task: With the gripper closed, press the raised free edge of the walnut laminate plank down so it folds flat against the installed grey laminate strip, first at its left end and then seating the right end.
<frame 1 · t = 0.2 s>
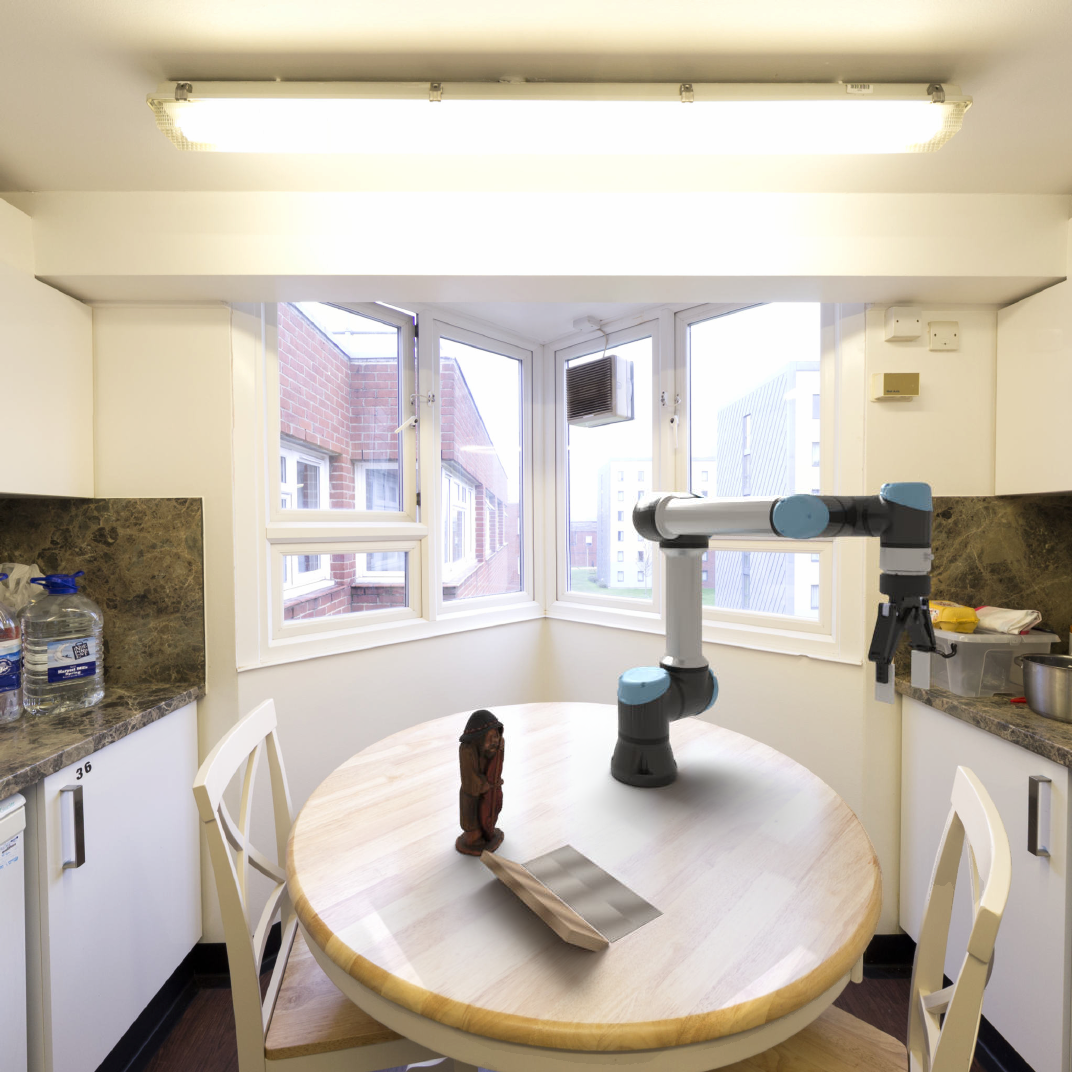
hand: (903, 694, 101), 28 cm above the table, fingers open, 13 cm apart
plank: (539, 897, 85), point 3 cm above the table, hinge at 35.0°
laid strip: (587, 896, 91), on the table
figurine: (480, 850, 104), on the table
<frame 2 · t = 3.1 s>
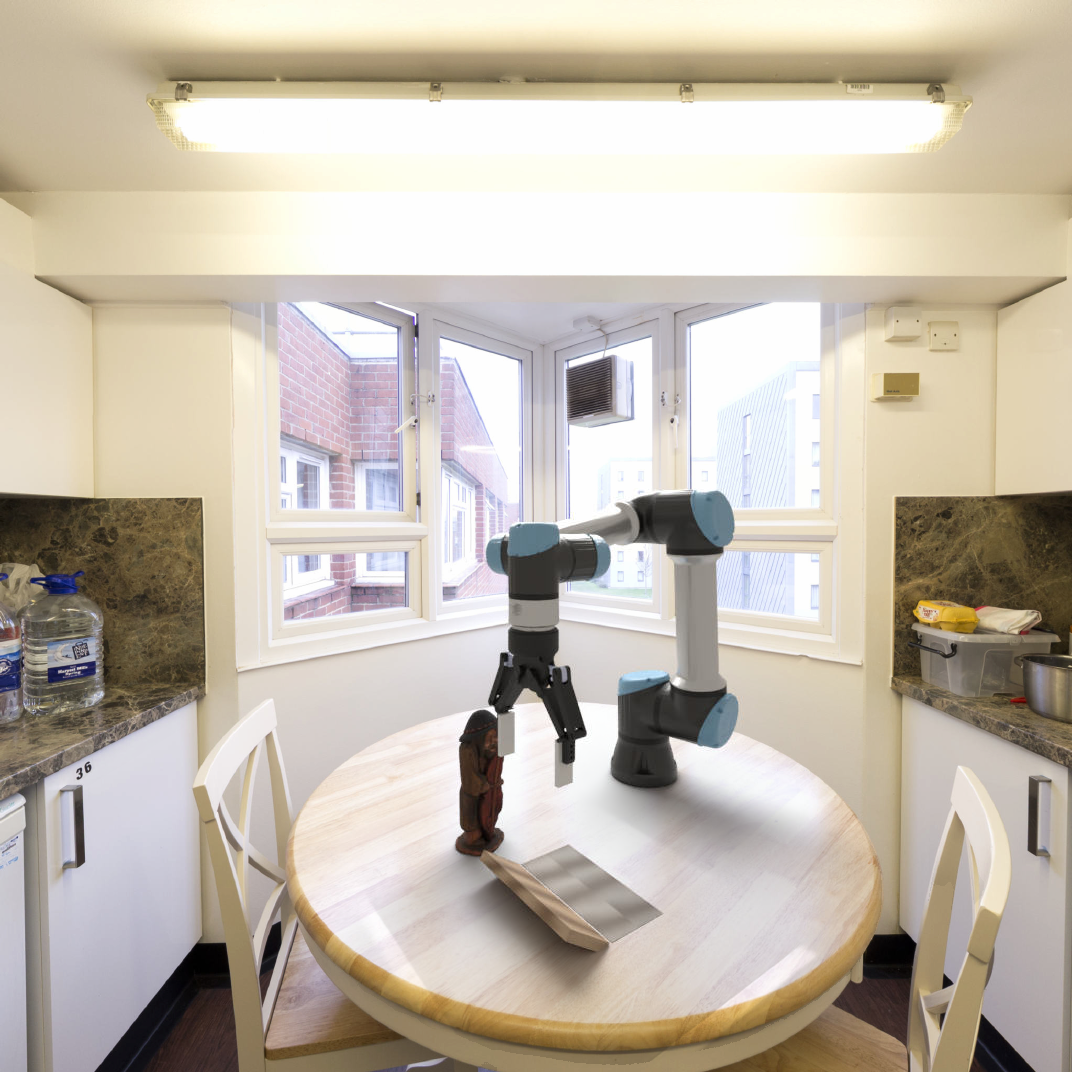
hand: (533, 768, 87), 22 cm above the table, fingers open, 13 cm apart
nothing on the table moved.
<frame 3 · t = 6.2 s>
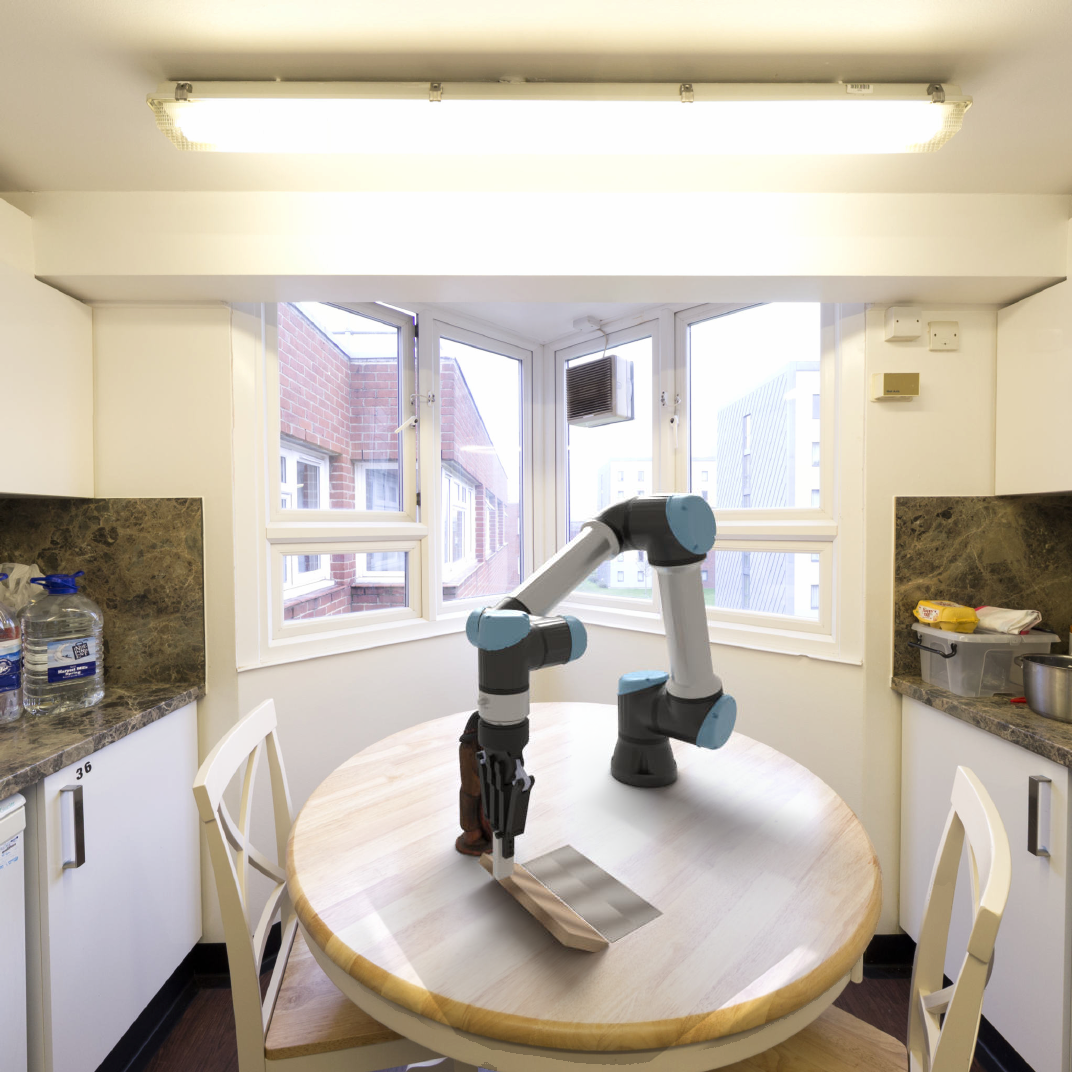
hand: (503, 874, 86), 6 cm above the table, fingers closed
plank: (538, 899, 85), point 3 cm above the table, hinge at 31.9°, touching gripper
everything else where it was.
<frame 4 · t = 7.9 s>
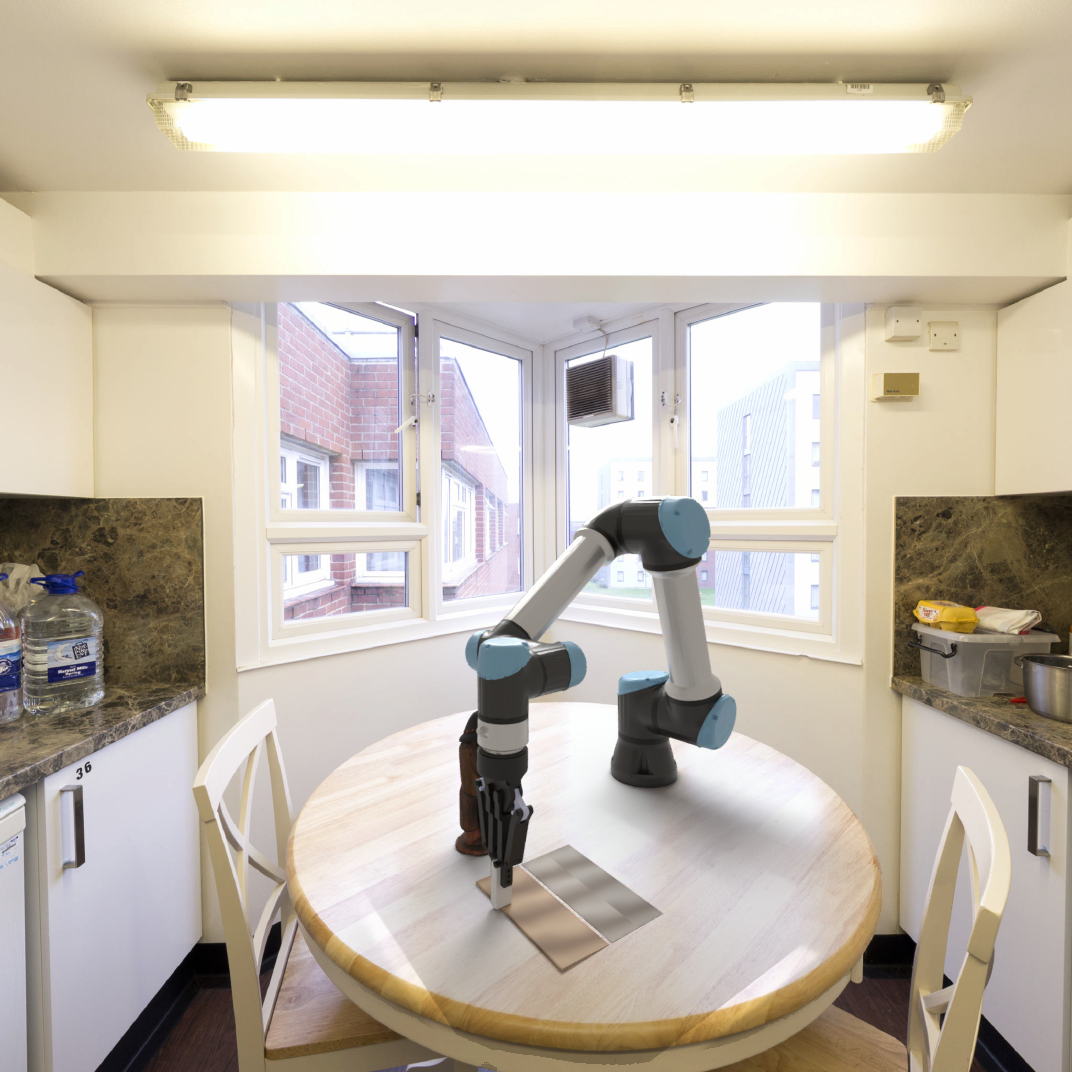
hand: (501, 903, 86), 2 cm above the table, fingers closed
plank: (537, 915, 85), point 1 cm above the table, hinge at 2.2°, touching gripper
everything else where it was.
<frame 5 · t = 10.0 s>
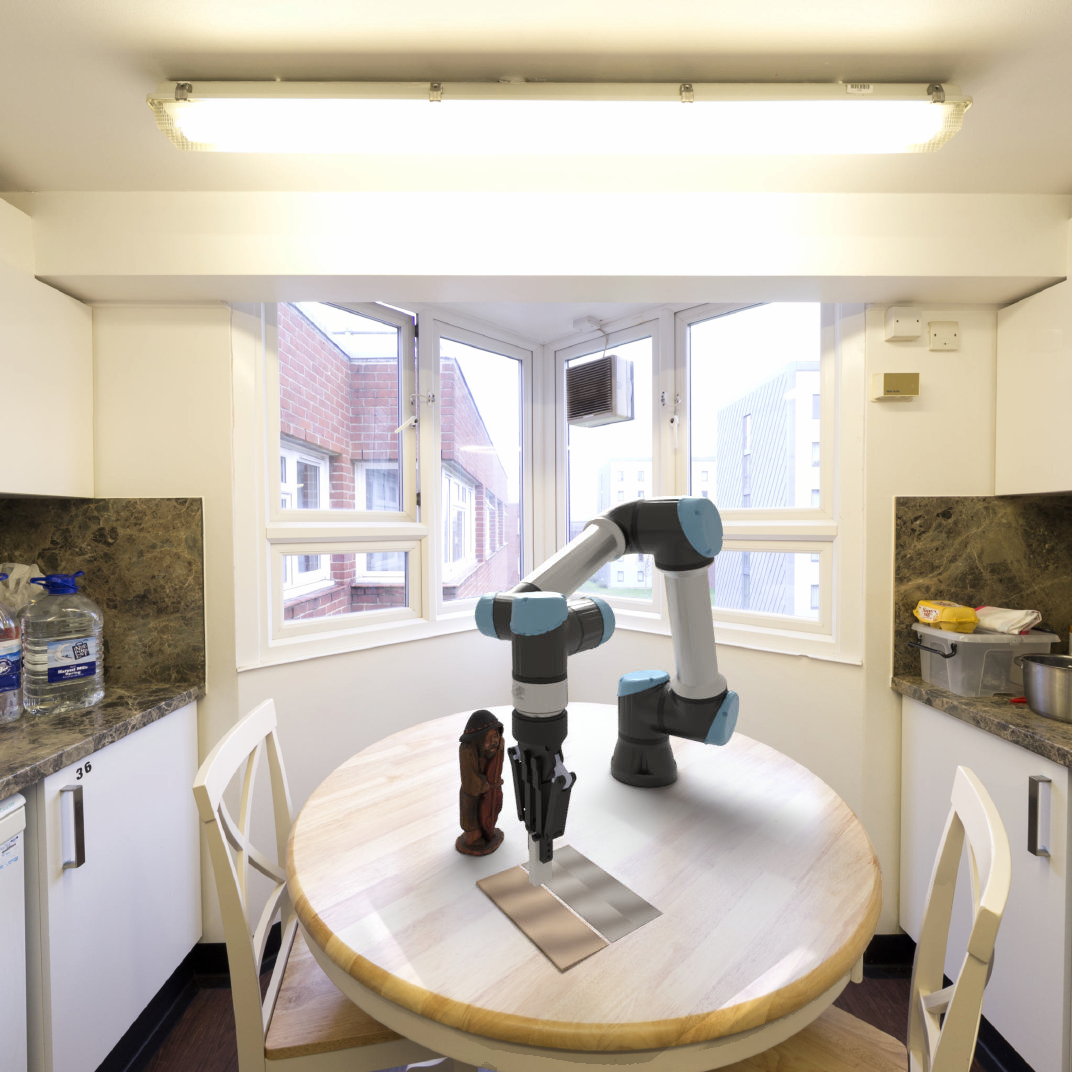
hand: (540, 880, 79), 10 cm above the table, fingers closed
plank: (537, 915, 85), point 1 cm above the table, hinge at 2.1°
everything else where it was.
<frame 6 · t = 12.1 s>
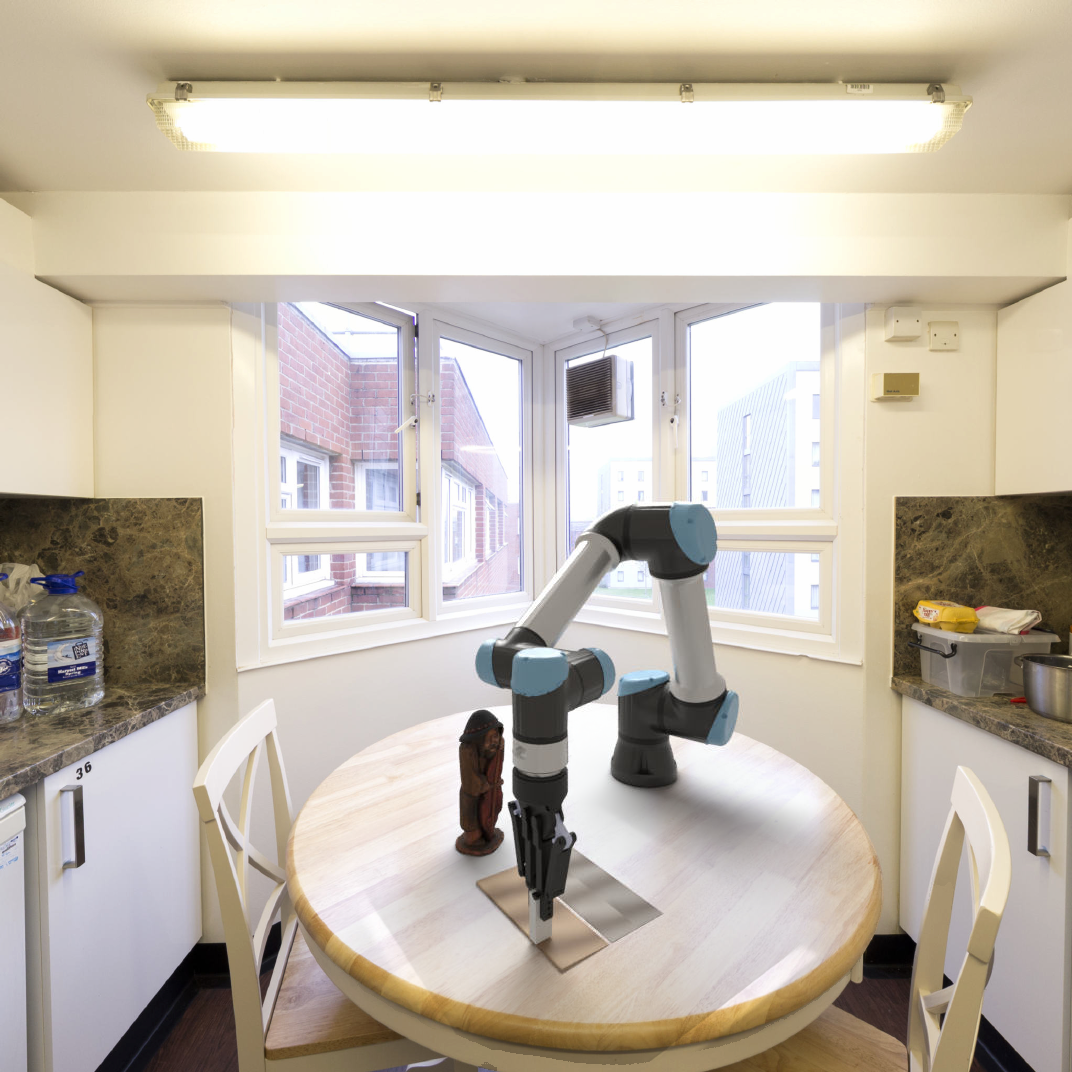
hand: (540, 936, 79), 2 cm above the table, fingers closed
plank: (537, 915, 85), point 1 cm above the table, hinge at 2.1°, touching gripper
everything else where it was.
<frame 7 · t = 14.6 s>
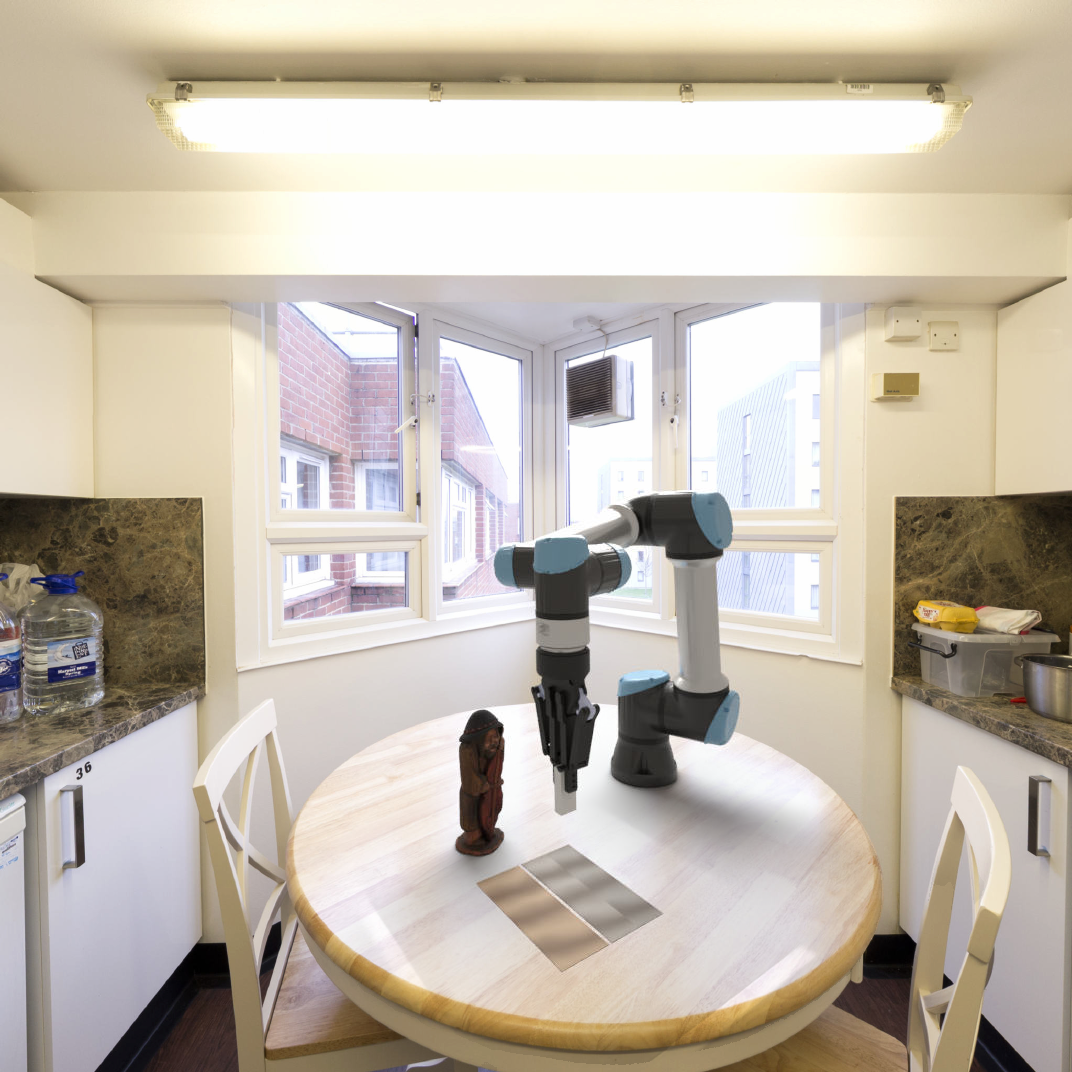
hand: (565, 810, 82), 18 cm above the table, fingers closed
plank: (537, 916, 85), point 1 cm above the table, hinge at 0.0°
everything else where it was.
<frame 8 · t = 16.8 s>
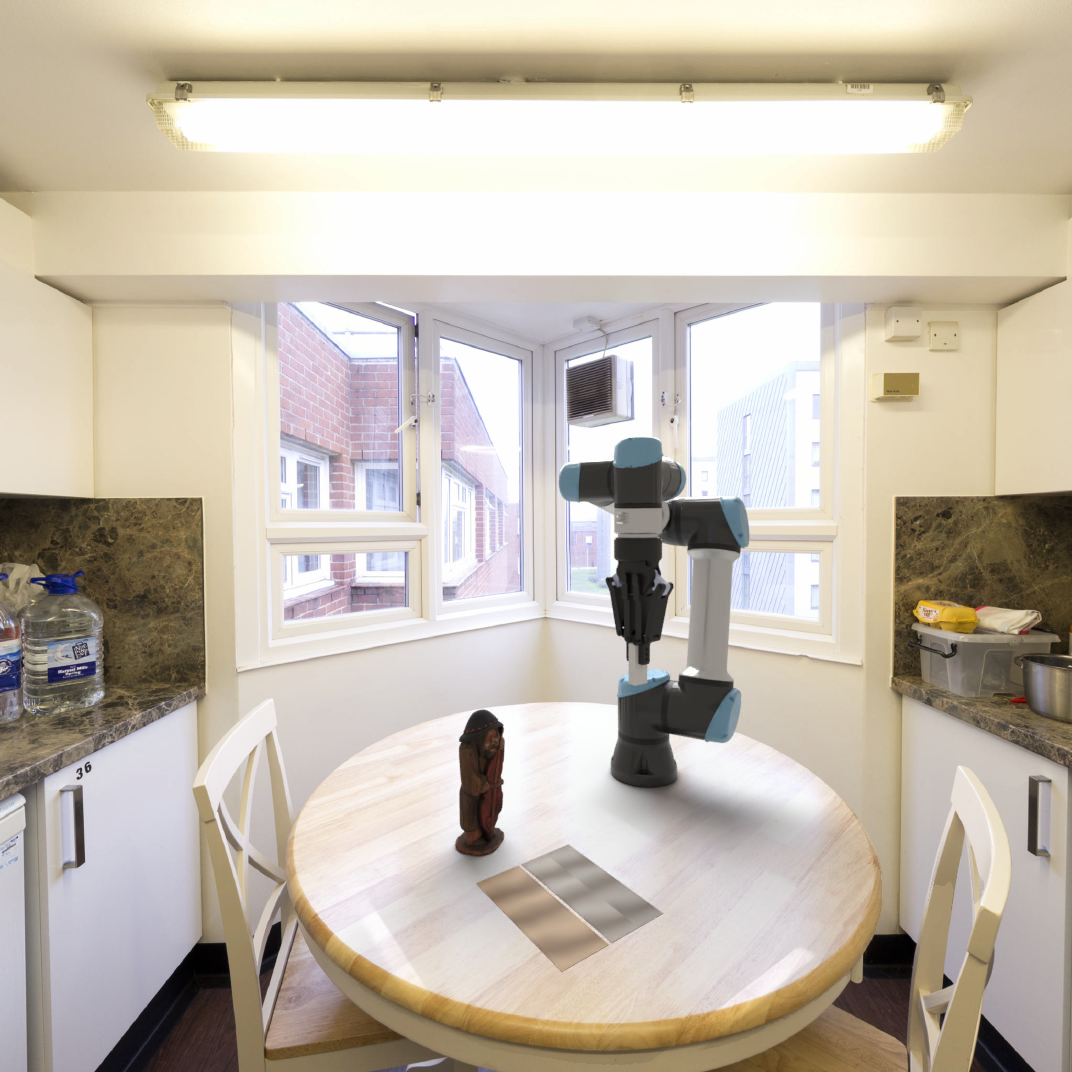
hand: (637, 683, 93), 32 cm above the table, fingers closed
nothing on the table moved.
at the end: plank at +0° (first picture: +35°) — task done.
